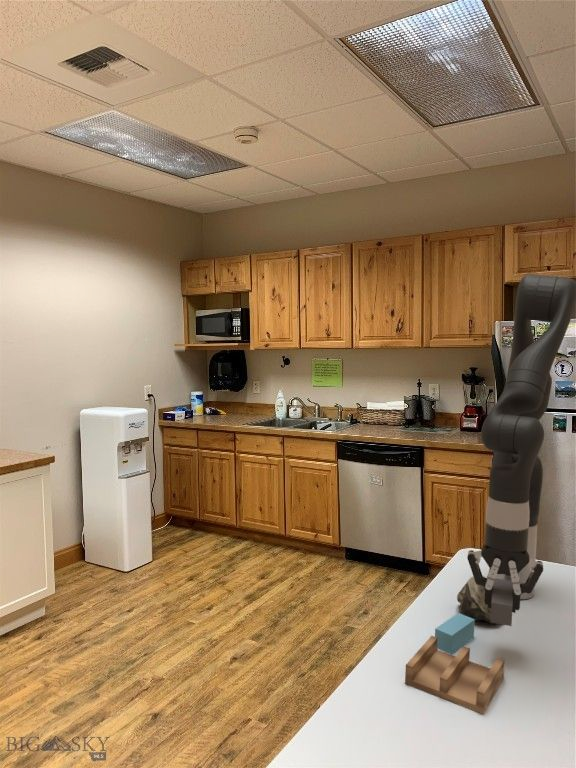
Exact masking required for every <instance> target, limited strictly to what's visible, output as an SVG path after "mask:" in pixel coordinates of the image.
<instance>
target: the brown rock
mask: <svg viewBox="0 0 576 768" xmlns="http://www.w3.org/2000/svg"><path fill="white" fill-rule="evenodd" d="M456 599H457V602H458V603H459V604H460V608H459V613H460V614H462V615H465V616H467V617H470V618H472V619H475V621H482V620H483V621H486V622H488V623H490V624H491V625H498V624H497V623H492V622H490V620H491V608H488V605H486V604H485V602H484V600H485V588H484V587H483V586H482V585H477V584H476V582H475V579H474V576H471V577H470V578H469V579H468V581H467V582H466V583H465V585H463V587H462V588H461V590H459V592H458V593H457V595H456Z"/></svg>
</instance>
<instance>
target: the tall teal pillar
mask: <svg viewBox="0 0 576 768" xmlns="http://www.w3.org/2000/svg"><path fill="white" fill-rule="evenodd" d="M475 622H476V620H475V619H472V618H470V617H467V616H465V615H462V614H460V612H458V613H457V614H455V615H454V616H452V617H451V618H449V619H447V620H446V621H444V622H442V623H441V624H440V625H439V626H437V627H435V629H434V637H437V638H438V639H437V650H439V651H441V652H444V653H447V654H450V655H453V654H454V653H455V652H456V651H458V650H459V649H461V648H462V647H463V646H465V644H467V643H469V642H470V641H471V640H472V639H474V638H475Z"/></svg>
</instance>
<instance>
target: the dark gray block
mask: <svg viewBox="0 0 576 768" xmlns="http://www.w3.org/2000/svg"><path fill="white" fill-rule="evenodd" d="M512 595H513V583H512V581H509V580H503V579H497V578H495V580H494V583H493V593H492V603H491V620H490V622H492V623H497V624H496V625H504V626H508V627H512V621H513V612H512V607H513V597H512ZM490 622H489V623H490Z"/></svg>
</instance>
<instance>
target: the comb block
mask: <svg viewBox="0 0 576 768" xmlns="http://www.w3.org/2000/svg"><path fill="white" fill-rule="evenodd" d="M437 639H438V638H437V637H435V635H430V637H429V638H428V639H427V640H426V641H425V643H424V644H423V645H421V647H420V648H418V650H417V651H416V652H415V653H414V655H412V657H411V658H410V659H409V661H408V662H407V663H405V672H404V673H405V677H404V678H405V680H404V682H405V683H404V684H405V685H407V686H410V687H413V688H414V689H415V688H416V689H418V690H420V691H423V692H425V693H429V695H430V694H431V695H433V696H436V697H438V698H441V699H443V700H446V701H448V702H452V703H454V704H456V705H459V706H461V707H464V708H466V709H469V710H471V711H474V712H477V713H479V714H482V715H484V713H485V712H486V710H487V708H488V707H489V705H490V703H491V701H492V700H493V697H494V696H495V694H496V693H497V691H498V689H499V688H500V686H501V683H502V682H503V680H504V676H505V659H504V658H501V657H496V659H495V661H494V662H493V664H492V665H491V667H487V666H485V665H482V664H480V663H476V662H473V661H471V660H470V657H471V656H470V654H471V653H470V652H471V648H470V647H467V646H465V645H463V646H462V647H461V648H460V650H459V651H458V653H457V654H456V655H453V654H449V653H447V652H444V651H442V650H439V649H438V648H437Z"/></svg>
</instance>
